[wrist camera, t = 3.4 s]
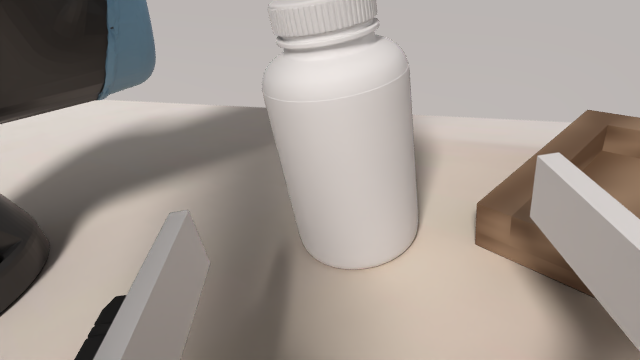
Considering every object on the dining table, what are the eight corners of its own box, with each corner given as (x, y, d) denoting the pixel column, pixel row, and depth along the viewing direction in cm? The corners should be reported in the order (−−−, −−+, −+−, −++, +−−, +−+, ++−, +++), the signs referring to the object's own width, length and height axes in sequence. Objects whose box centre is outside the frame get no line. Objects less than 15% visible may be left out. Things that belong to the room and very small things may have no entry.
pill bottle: (280, 230, 29) (219, 7, 21) (370, 186, 32) (344, -23, 24) (341, 295, 22) (286, 13, 15) (445, 233, 25) (443, -29, 18)
